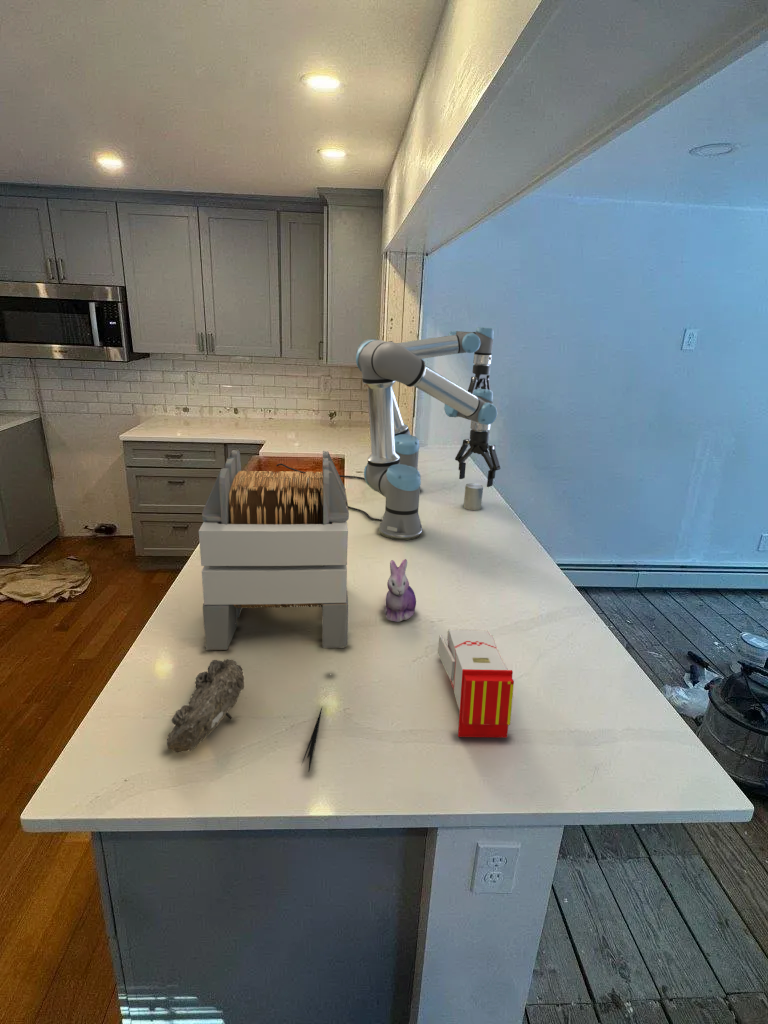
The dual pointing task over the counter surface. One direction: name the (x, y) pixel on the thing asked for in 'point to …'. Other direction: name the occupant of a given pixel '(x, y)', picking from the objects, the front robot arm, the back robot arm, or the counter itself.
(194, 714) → the fossil
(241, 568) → the record crate
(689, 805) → the counter surface
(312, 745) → the feather
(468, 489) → the can
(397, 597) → the figurine
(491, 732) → the toy
